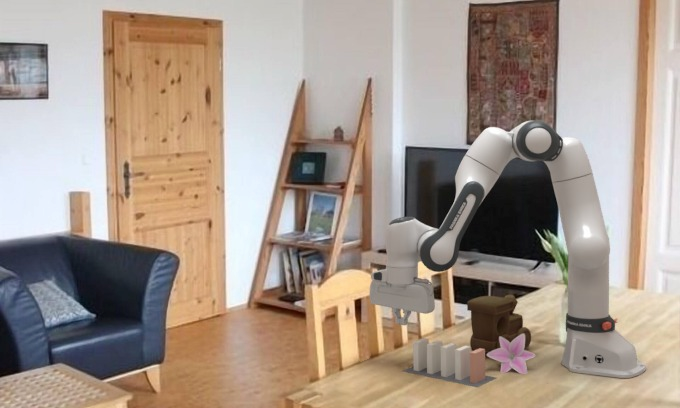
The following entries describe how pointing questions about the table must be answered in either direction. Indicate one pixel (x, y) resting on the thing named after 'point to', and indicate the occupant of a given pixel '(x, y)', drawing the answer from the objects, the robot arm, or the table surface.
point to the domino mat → (450, 377)
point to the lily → (512, 354)
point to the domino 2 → (434, 357)
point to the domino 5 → (477, 365)
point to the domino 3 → (448, 359)
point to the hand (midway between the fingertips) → (401, 324)
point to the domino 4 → (462, 362)
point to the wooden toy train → (495, 322)
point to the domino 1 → (420, 354)
